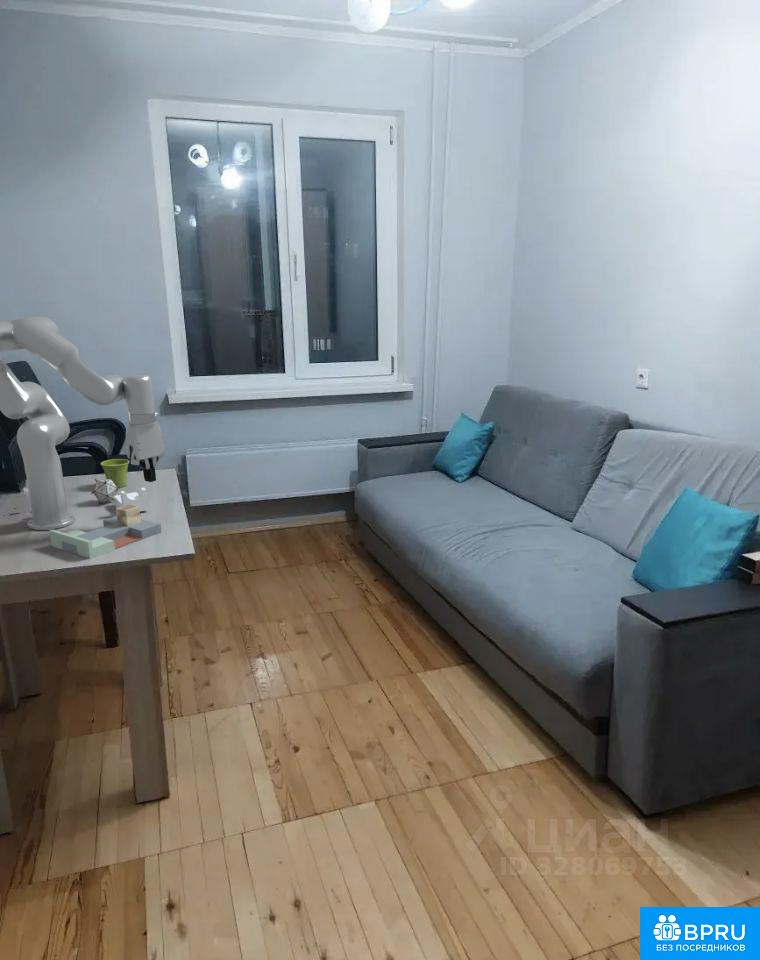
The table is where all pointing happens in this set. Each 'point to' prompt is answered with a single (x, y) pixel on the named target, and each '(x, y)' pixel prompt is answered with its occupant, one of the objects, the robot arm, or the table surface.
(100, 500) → the game die
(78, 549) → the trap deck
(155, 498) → the table surface
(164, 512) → the table surface
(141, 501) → the bracket
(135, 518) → the maple block
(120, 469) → the plant pot
